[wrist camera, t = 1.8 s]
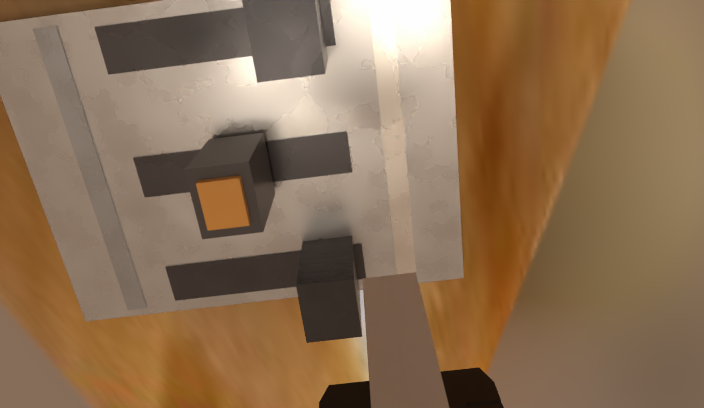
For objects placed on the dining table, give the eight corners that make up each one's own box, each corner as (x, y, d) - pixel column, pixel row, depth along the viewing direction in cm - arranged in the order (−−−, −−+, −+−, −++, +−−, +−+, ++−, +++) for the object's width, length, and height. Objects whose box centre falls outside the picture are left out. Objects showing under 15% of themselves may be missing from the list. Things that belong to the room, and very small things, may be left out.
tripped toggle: (208, 139, 29) (181, 172, 24) (263, 132, 29) (247, 164, 24) (223, 199, 31) (200, 243, 26) (275, 193, 31) (262, 235, 26)
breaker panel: (-3, 22, 29) (-102, 35, 23) (441, -37, 28) (471, -41, 22) (99, 303, 36) (45, 375, 30) (457, 262, 35) (483, 326, 29)
